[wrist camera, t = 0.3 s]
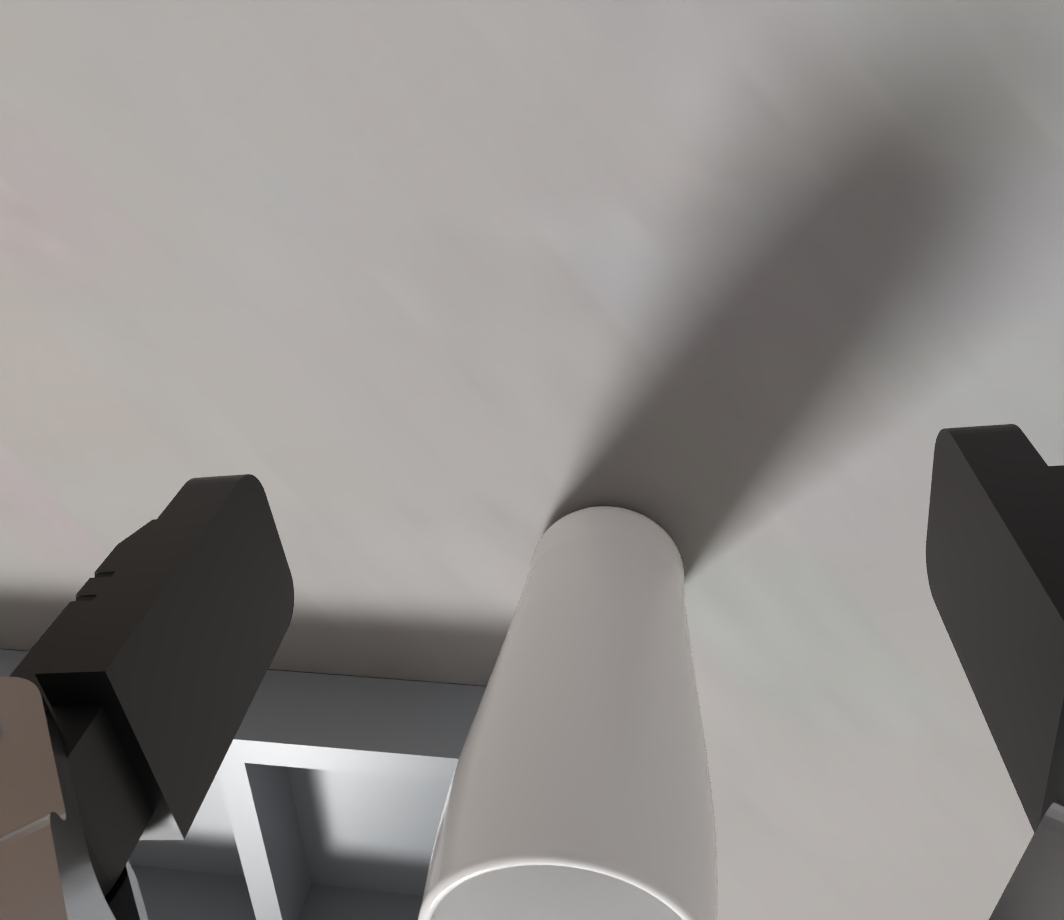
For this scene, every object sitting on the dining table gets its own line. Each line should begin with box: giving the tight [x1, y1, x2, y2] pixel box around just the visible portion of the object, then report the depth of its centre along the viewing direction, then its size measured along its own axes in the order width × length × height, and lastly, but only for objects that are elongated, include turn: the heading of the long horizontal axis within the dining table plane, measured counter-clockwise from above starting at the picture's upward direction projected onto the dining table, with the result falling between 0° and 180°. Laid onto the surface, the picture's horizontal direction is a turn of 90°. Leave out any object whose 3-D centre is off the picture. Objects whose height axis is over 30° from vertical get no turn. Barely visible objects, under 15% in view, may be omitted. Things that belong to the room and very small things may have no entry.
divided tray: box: [0, 649, 486, 920], centre depth 40 cm, size 13×26×4 cm, turn 91°
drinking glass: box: [418, 506, 718, 920], centre depth 27 cm, size 7×7×15 cm
